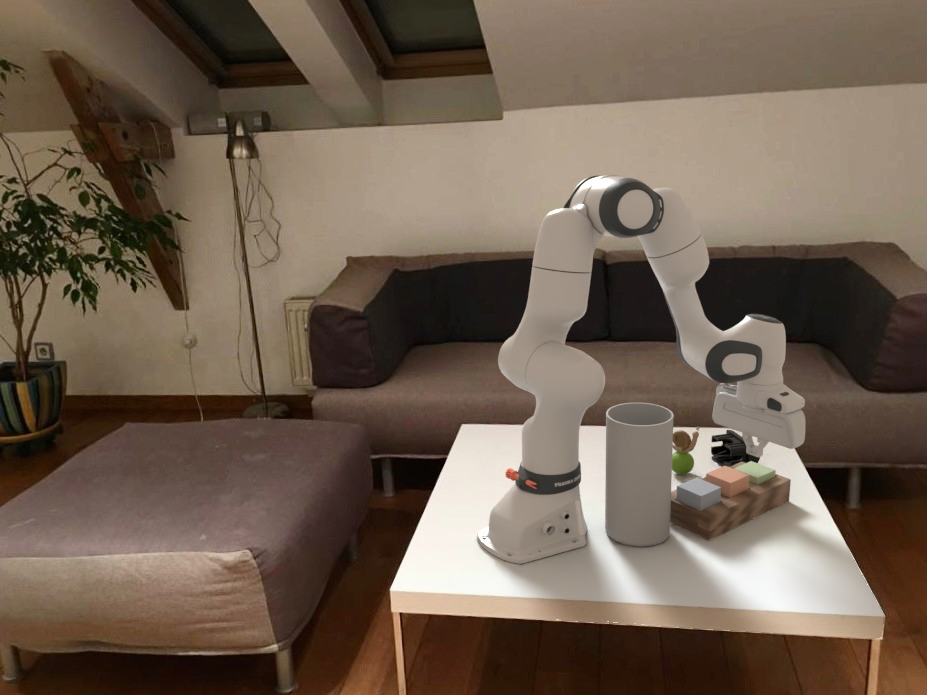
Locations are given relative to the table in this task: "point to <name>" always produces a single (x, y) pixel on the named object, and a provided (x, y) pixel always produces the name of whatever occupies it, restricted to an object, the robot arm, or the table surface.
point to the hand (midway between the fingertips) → (754, 454)
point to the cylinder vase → (638, 473)
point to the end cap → (730, 450)
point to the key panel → (731, 508)
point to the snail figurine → (683, 451)
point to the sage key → (757, 472)
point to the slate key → (698, 494)
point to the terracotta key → (729, 480)
